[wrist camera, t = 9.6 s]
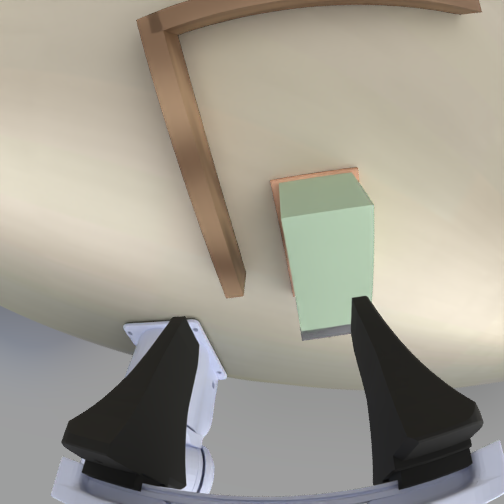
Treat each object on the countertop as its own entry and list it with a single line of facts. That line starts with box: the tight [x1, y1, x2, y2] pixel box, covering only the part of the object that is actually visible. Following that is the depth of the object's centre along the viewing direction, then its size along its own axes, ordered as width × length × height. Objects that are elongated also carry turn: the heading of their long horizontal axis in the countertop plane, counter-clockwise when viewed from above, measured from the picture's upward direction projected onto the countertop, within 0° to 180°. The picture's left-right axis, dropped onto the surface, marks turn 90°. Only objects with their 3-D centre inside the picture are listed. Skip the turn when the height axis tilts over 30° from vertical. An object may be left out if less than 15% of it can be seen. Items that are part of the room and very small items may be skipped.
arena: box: [136, 0, 482, 298], centre depth 15 cm, size 21×19×2 cm
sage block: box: [279, 172, 374, 341], centre depth 18 cm, size 5×9×4 cm, turn 13°
